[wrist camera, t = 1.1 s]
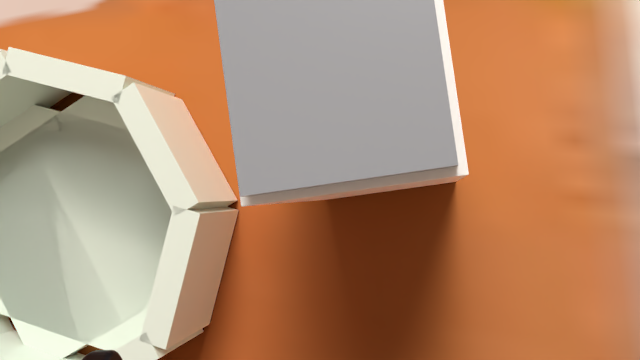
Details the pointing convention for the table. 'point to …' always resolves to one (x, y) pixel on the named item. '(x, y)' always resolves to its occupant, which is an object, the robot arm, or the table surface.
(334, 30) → the pebble canister
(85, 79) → the sage bowl
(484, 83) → the table surface
